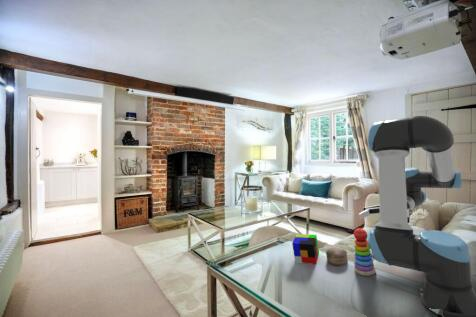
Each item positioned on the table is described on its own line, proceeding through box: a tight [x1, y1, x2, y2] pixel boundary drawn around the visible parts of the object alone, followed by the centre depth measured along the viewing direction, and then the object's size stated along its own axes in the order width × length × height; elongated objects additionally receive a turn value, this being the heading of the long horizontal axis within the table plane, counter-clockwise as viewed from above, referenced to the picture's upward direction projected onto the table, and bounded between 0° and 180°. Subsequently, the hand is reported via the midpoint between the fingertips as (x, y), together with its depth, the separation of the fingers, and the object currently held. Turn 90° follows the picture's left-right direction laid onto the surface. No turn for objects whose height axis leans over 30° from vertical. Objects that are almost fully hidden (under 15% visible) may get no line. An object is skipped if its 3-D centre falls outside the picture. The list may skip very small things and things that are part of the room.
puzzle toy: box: [291, 233, 320, 265], centre depth 118 cm, size 10×10×10 cm
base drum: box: [325, 247, 349, 267], centre depth 111 cm, size 9×9×4 cm
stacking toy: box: [353, 227, 376, 277], centre depth 99 cm, size 8×8×19 cm
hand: (373, 220), depth 103 cm, fingers open, 13 cm apart
